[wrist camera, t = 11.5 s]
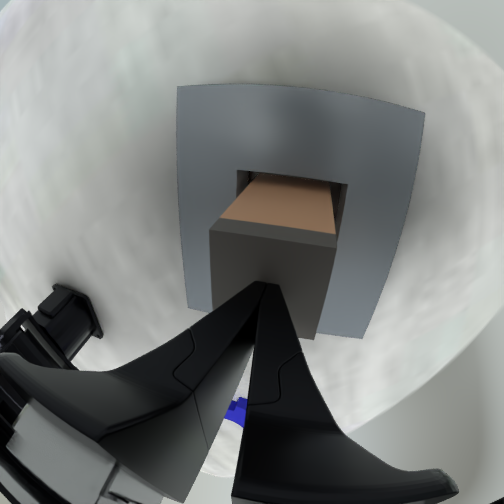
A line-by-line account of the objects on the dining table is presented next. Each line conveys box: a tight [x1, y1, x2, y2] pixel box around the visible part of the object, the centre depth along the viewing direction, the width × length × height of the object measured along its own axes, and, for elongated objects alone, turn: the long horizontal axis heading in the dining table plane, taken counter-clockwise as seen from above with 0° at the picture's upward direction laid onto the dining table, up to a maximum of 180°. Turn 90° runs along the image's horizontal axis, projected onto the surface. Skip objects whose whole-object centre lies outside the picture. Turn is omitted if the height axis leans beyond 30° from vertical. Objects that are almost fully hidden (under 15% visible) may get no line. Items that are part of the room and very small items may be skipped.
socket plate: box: [176, 84, 425, 339], centre depth 15 cm, size 14×12×2 cm
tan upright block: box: [209, 173, 337, 340], centre depth 13 cm, size 4×4×8 cm
